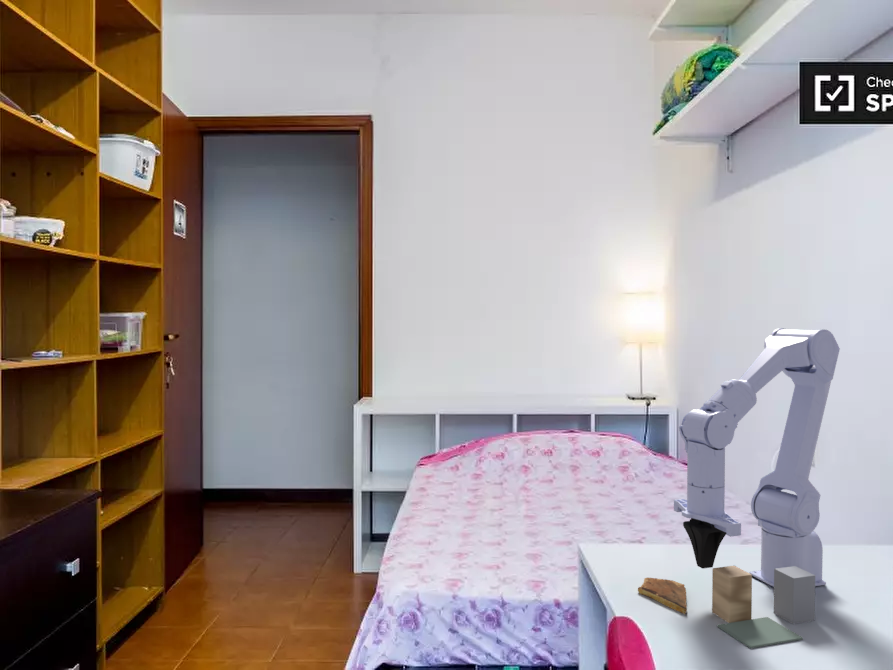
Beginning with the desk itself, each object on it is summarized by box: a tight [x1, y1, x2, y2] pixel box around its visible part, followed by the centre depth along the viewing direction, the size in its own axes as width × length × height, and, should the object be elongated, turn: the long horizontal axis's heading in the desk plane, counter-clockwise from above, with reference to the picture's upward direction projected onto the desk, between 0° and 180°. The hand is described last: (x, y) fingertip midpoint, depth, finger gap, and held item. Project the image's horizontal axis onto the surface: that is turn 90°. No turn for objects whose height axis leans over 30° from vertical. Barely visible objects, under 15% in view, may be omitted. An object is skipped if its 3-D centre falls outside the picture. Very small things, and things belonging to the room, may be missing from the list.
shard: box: [637, 577, 688, 615], centre depth 114 cm, size 11×8×2 cm
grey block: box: [773, 566, 816, 625], centre depth 107 cm, size 4×4×7 cm
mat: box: [717, 616, 804, 649], centre depth 102 cm, size 9×7×1 cm
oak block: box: [711, 565, 753, 623], centre depth 108 cm, size 4×4×7 cm
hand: (704, 566), depth 114 cm, fingers closed
